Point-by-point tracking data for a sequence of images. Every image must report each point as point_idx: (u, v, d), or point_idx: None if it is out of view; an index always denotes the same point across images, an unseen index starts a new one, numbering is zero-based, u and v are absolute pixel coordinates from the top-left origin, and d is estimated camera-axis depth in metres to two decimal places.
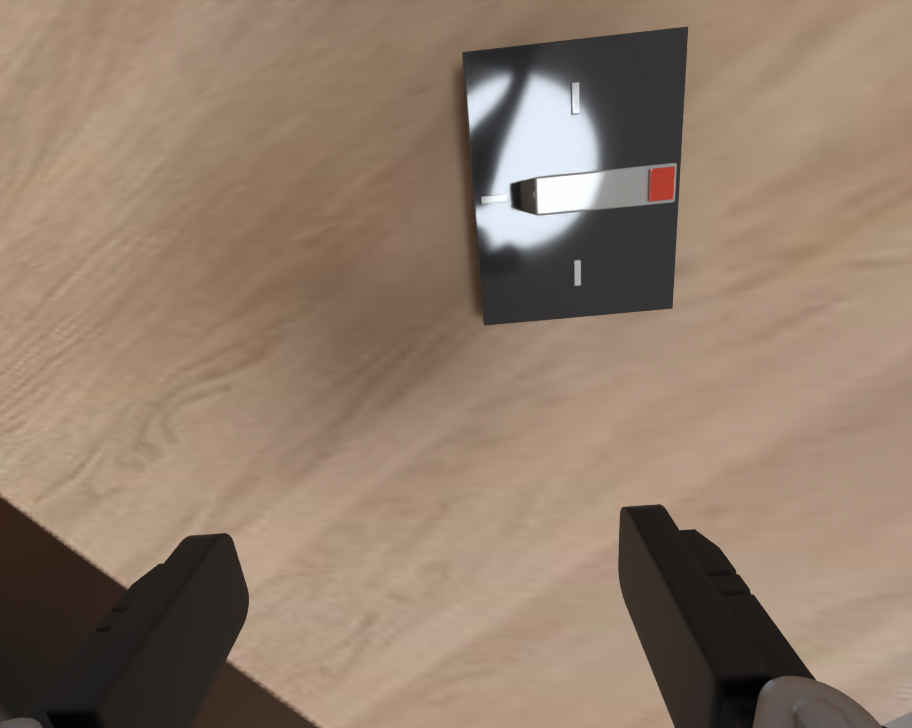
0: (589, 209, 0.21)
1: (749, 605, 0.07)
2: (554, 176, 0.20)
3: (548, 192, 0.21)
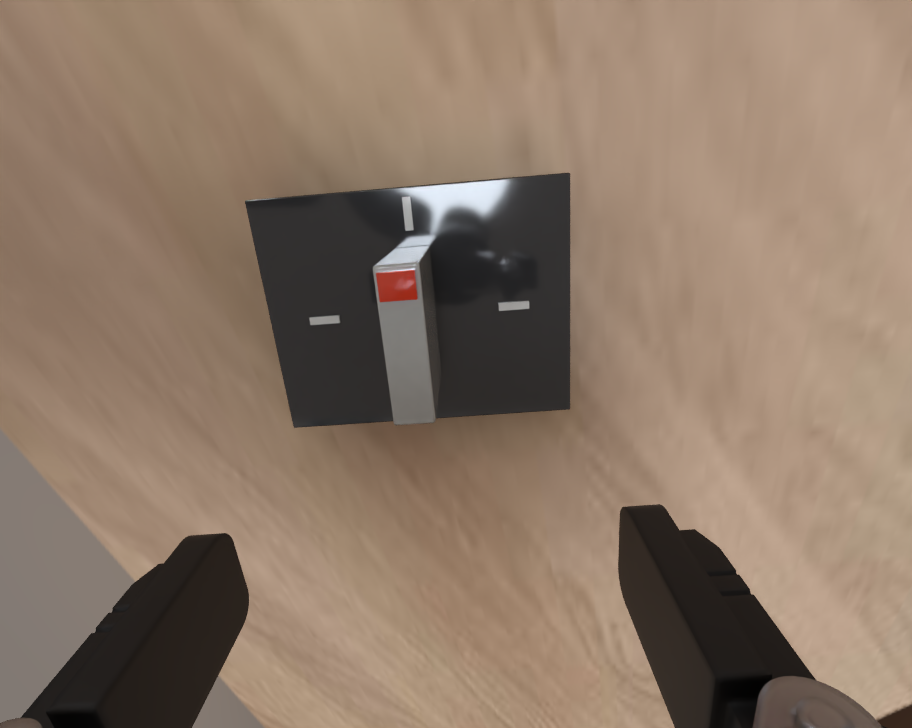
0: (428, 365, 0.17)
1: (749, 605, 0.07)
2: (392, 406, 0.18)
3: (410, 411, 0.18)
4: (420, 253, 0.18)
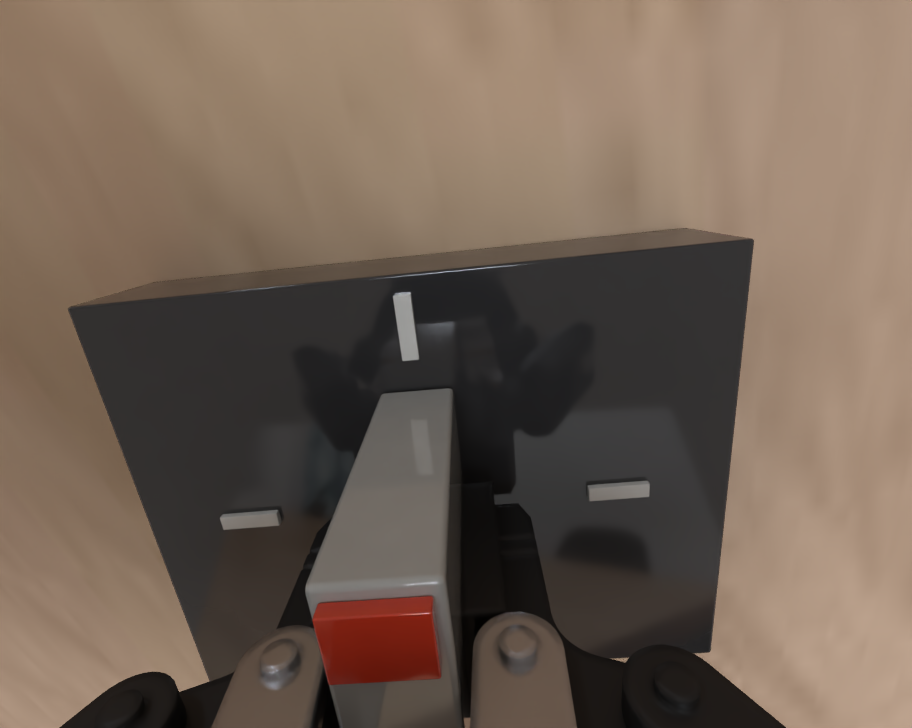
0: None
1: (530, 562, 0.08)
2: None
3: None
4: (440, 456, 0.08)
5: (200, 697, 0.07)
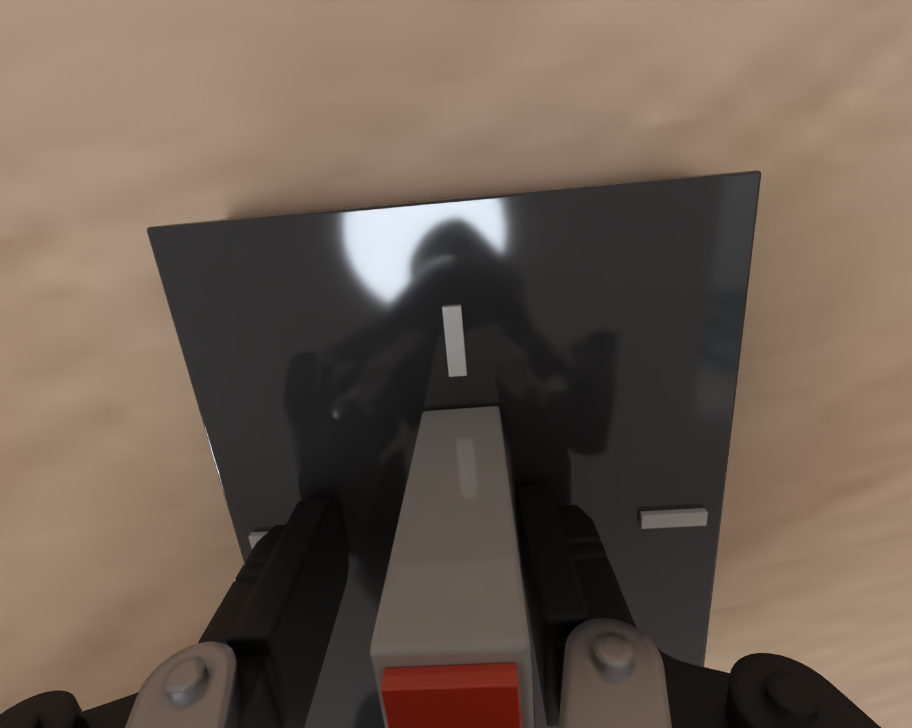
0: None
1: (601, 566, 0.08)
2: None
3: None
4: (499, 487, 0.07)
5: (108, 715, 0.07)
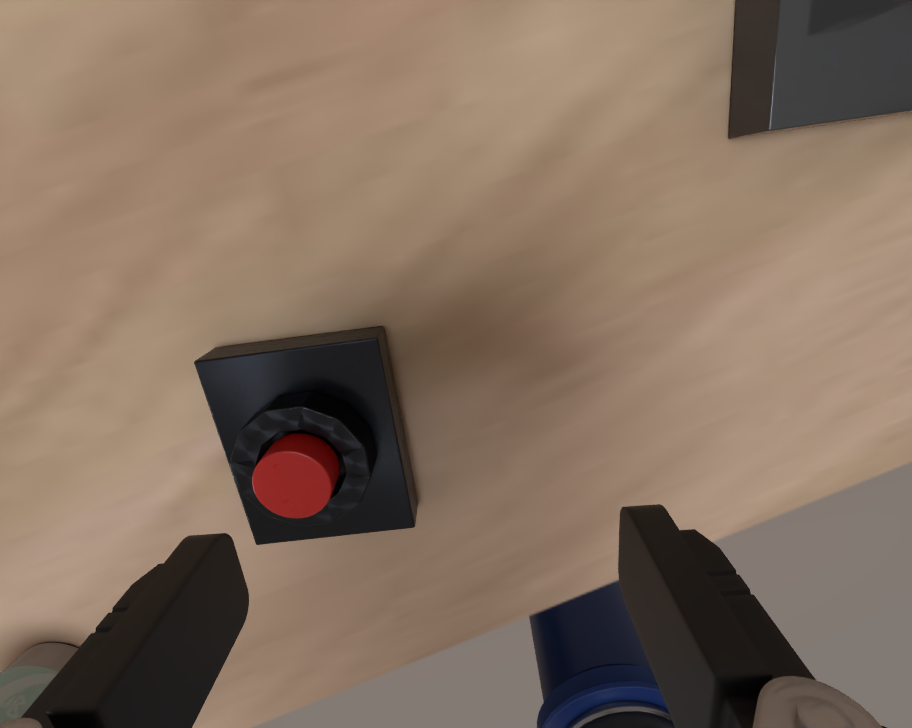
0: None
1: (749, 605, 0.07)
2: None
3: None
4: None
5: None
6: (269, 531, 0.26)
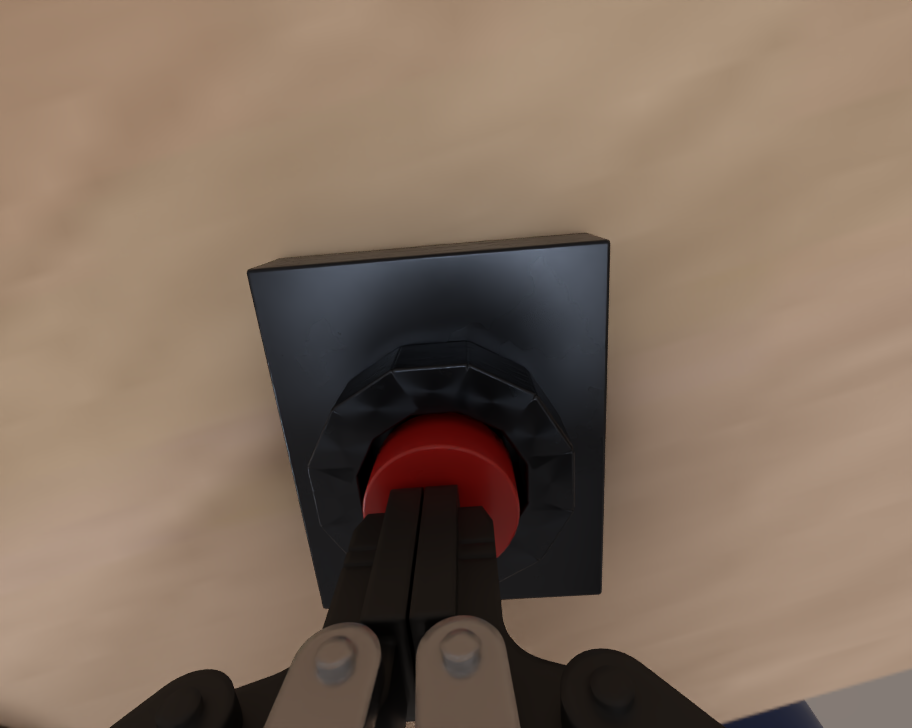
0: None
1: (487, 566, 0.08)
2: None
3: None
4: None
5: (254, 695, 0.07)
6: None
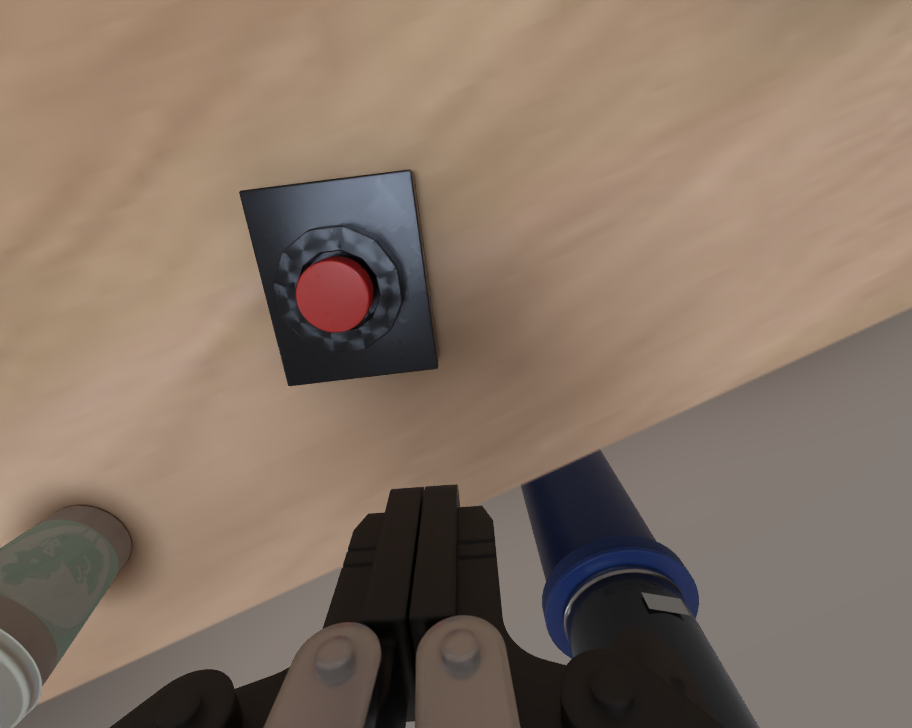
0: None
1: (487, 566, 0.08)
2: None
3: None
4: None
5: (254, 695, 0.07)
6: (301, 371, 0.28)
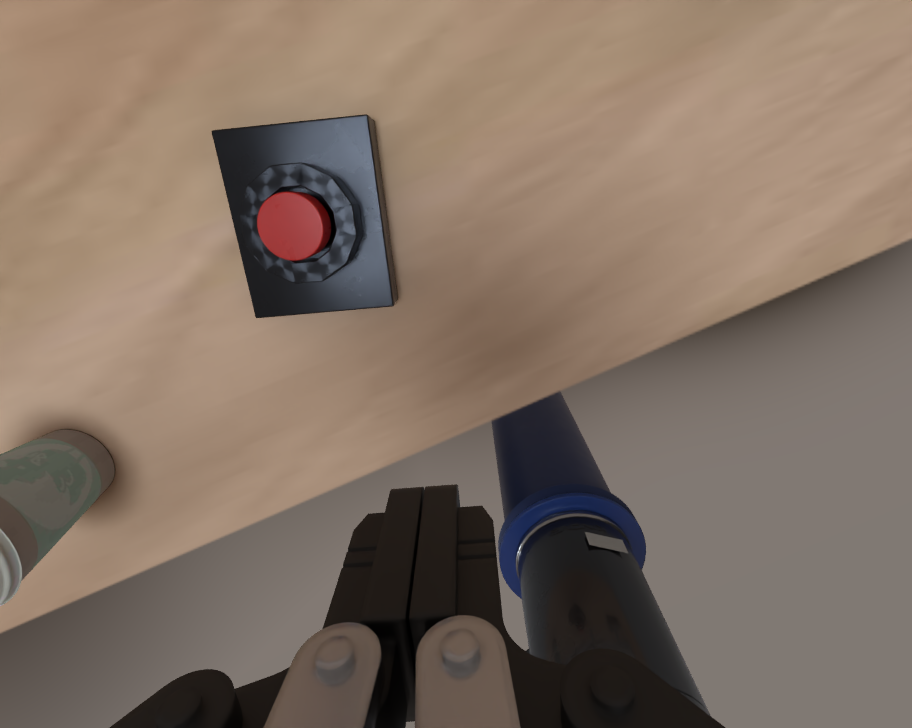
0: None
1: (487, 566, 0.08)
2: None
3: None
4: None
5: (254, 695, 0.07)
6: (267, 304, 0.30)
